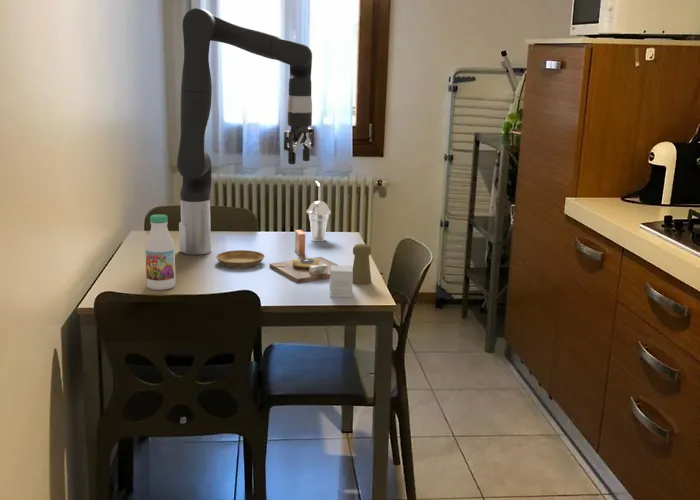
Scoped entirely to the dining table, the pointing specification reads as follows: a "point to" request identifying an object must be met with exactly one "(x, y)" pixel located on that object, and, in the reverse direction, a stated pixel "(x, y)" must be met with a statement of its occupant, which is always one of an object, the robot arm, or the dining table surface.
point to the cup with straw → (318, 218)
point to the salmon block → (302, 252)
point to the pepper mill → (361, 264)
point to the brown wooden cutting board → (304, 270)
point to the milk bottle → (160, 255)
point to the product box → (341, 281)
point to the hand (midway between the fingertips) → (299, 162)
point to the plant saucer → (240, 258)
